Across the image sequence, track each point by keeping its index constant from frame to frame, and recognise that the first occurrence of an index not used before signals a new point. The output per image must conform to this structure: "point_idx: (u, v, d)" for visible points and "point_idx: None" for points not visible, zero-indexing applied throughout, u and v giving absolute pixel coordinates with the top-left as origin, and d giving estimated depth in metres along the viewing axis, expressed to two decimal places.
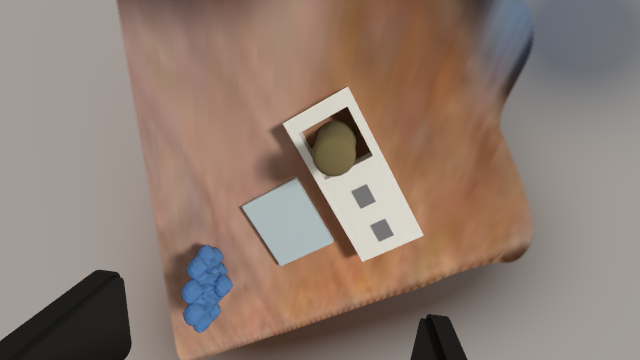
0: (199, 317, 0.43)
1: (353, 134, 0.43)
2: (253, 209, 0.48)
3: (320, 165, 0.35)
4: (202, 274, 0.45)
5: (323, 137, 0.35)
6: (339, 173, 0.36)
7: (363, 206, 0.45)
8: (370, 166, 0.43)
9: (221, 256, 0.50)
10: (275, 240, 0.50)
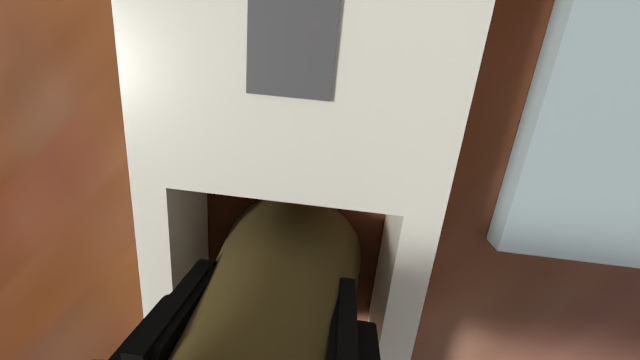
0: None
1: None
2: None
3: None
4: None
5: None
6: None
7: None
8: (194, 156, 0.09)
9: None
10: None
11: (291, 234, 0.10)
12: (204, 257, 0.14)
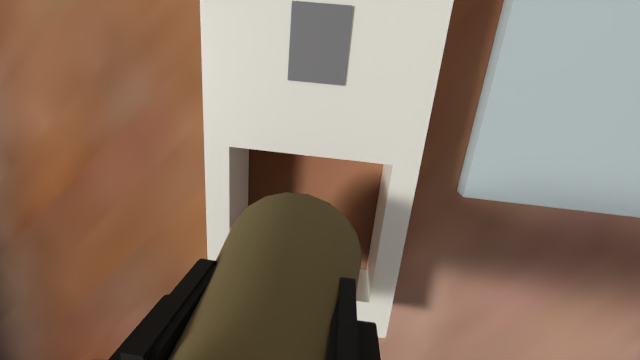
0: None
1: None
2: None
3: None
4: None
5: None
6: None
7: (340, 5, 0.12)
8: (250, 124, 0.14)
9: None
10: None
11: (291, 234, 0.10)
12: (245, 206, 0.18)
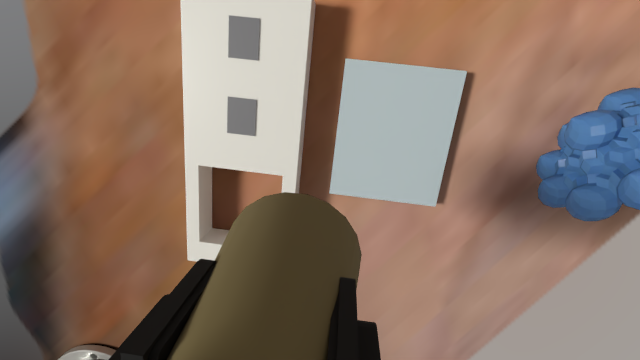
0: None
1: None
2: (422, 191, 0.28)
3: None
4: (595, 190, 0.20)
5: None
6: None
7: (250, 99, 0.25)
8: (209, 154, 0.27)
9: (541, 160, 0.26)
10: (434, 123, 0.27)
11: (290, 234, 0.10)
12: (210, 198, 0.31)
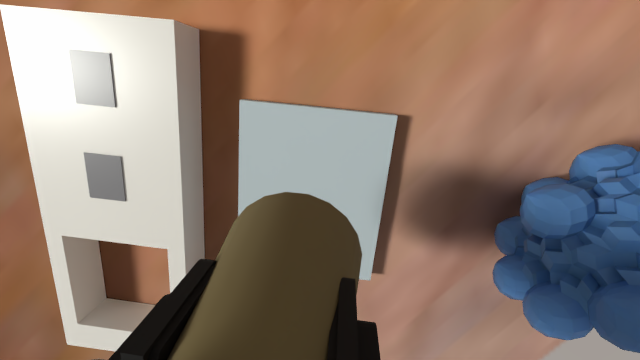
0: None
1: None
2: None
3: None
4: (558, 300, 0.14)
5: None
6: None
7: (114, 155, 0.19)
8: (72, 222, 0.21)
9: (498, 230, 0.20)
10: (360, 181, 0.20)
11: (291, 233, 0.10)
12: (97, 266, 0.25)
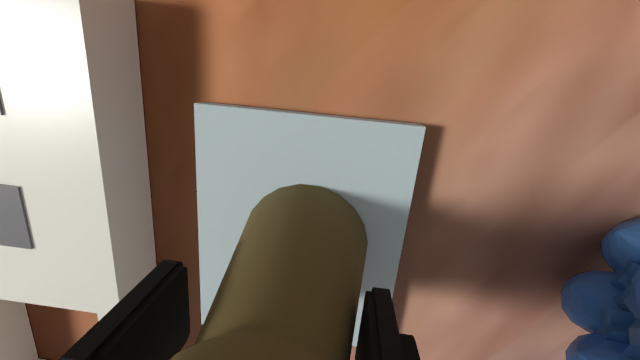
0: None
1: None
2: (358, 327, 0.16)
3: None
4: None
5: None
6: None
7: (9, 185, 0.13)
8: None
9: (571, 293, 0.14)
10: (369, 219, 0.14)
11: (306, 219, 0.11)
12: (20, 321, 0.19)
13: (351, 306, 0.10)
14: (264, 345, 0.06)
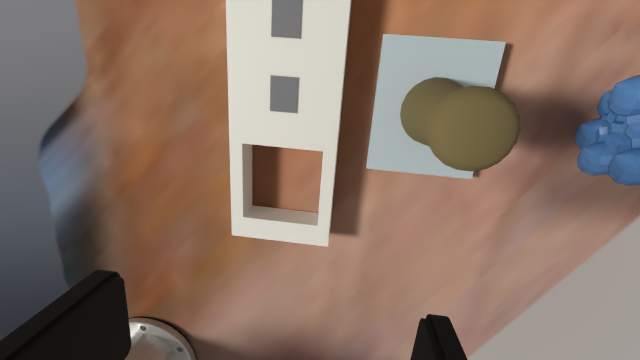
0: None
1: (407, 111, 0.26)
2: None
3: (512, 134, 0.17)
4: None
5: (464, 170, 0.19)
6: (493, 98, 0.17)
7: (292, 77, 0.26)
8: (252, 132, 0.28)
9: (580, 129, 0.26)
10: None
11: (453, 82, 0.24)
12: (250, 176, 0.32)
13: None
14: None
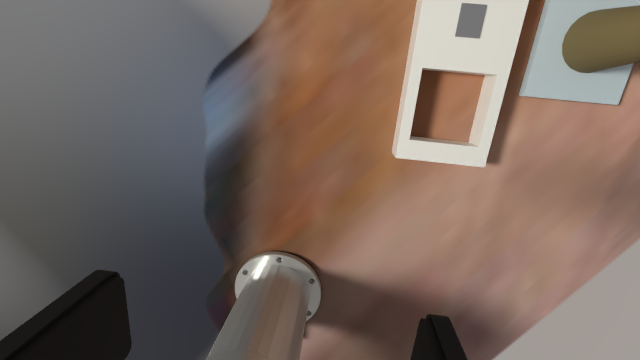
0: None
1: (579, 36, 0.30)
2: (608, 91, 0.33)
3: None
4: None
5: None
6: None
7: (481, 4, 0.30)
8: (434, 56, 0.32)
9: None
10: None
11: None
12: None
13: None
14: None
